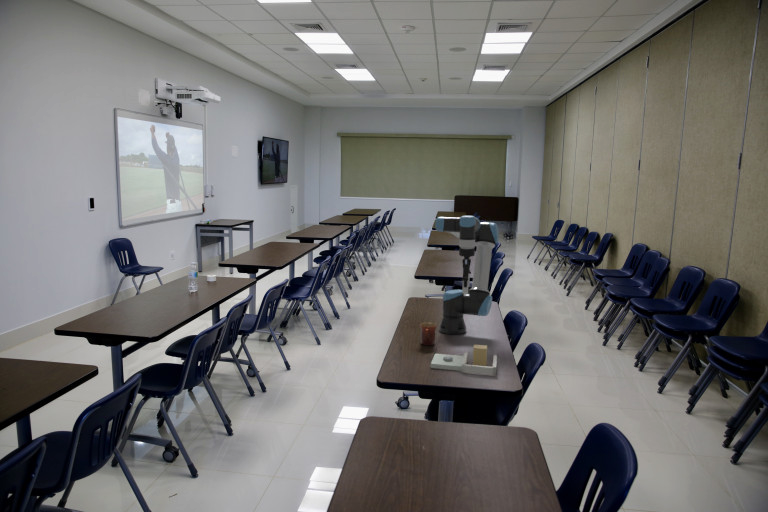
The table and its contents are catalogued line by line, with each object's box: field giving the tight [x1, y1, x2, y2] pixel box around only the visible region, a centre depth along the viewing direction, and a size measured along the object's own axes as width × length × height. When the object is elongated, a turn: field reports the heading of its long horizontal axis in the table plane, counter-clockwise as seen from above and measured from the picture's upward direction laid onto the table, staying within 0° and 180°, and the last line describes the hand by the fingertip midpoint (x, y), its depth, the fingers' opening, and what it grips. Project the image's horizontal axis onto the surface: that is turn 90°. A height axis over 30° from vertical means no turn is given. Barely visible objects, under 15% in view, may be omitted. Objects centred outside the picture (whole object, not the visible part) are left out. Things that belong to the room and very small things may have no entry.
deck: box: [430, 352, 498, 377], centre depth 231 cm, size 17×29×4 cm, turn 76°
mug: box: [419, 322, 437, 346], centre depth 260 cm, size 12×9×10 cm
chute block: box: [472, 344, 488, 366], centre depth 232 cm, size 5×6×9 cm
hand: (465, 290), depth 249 cm, fingers open, 13 cm apart
